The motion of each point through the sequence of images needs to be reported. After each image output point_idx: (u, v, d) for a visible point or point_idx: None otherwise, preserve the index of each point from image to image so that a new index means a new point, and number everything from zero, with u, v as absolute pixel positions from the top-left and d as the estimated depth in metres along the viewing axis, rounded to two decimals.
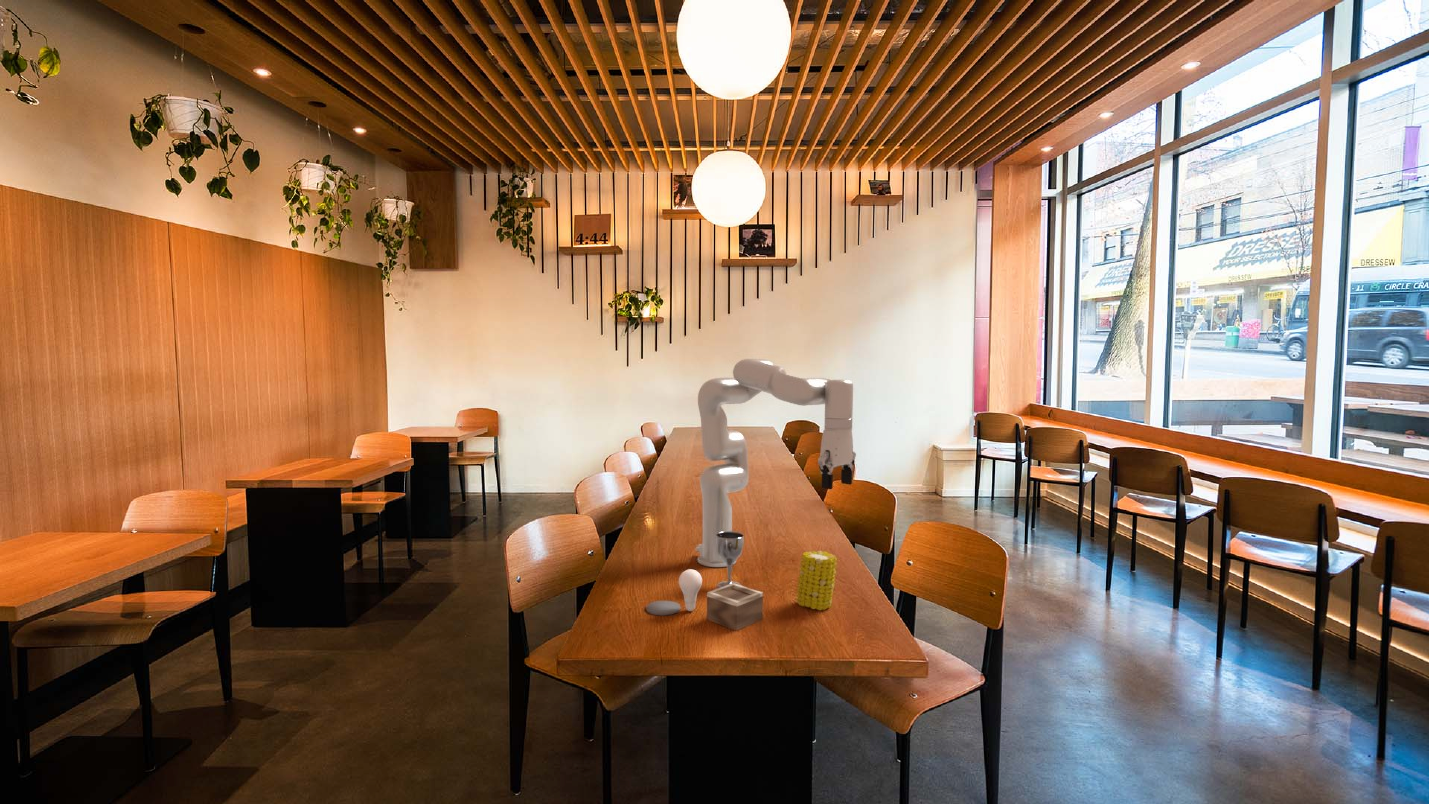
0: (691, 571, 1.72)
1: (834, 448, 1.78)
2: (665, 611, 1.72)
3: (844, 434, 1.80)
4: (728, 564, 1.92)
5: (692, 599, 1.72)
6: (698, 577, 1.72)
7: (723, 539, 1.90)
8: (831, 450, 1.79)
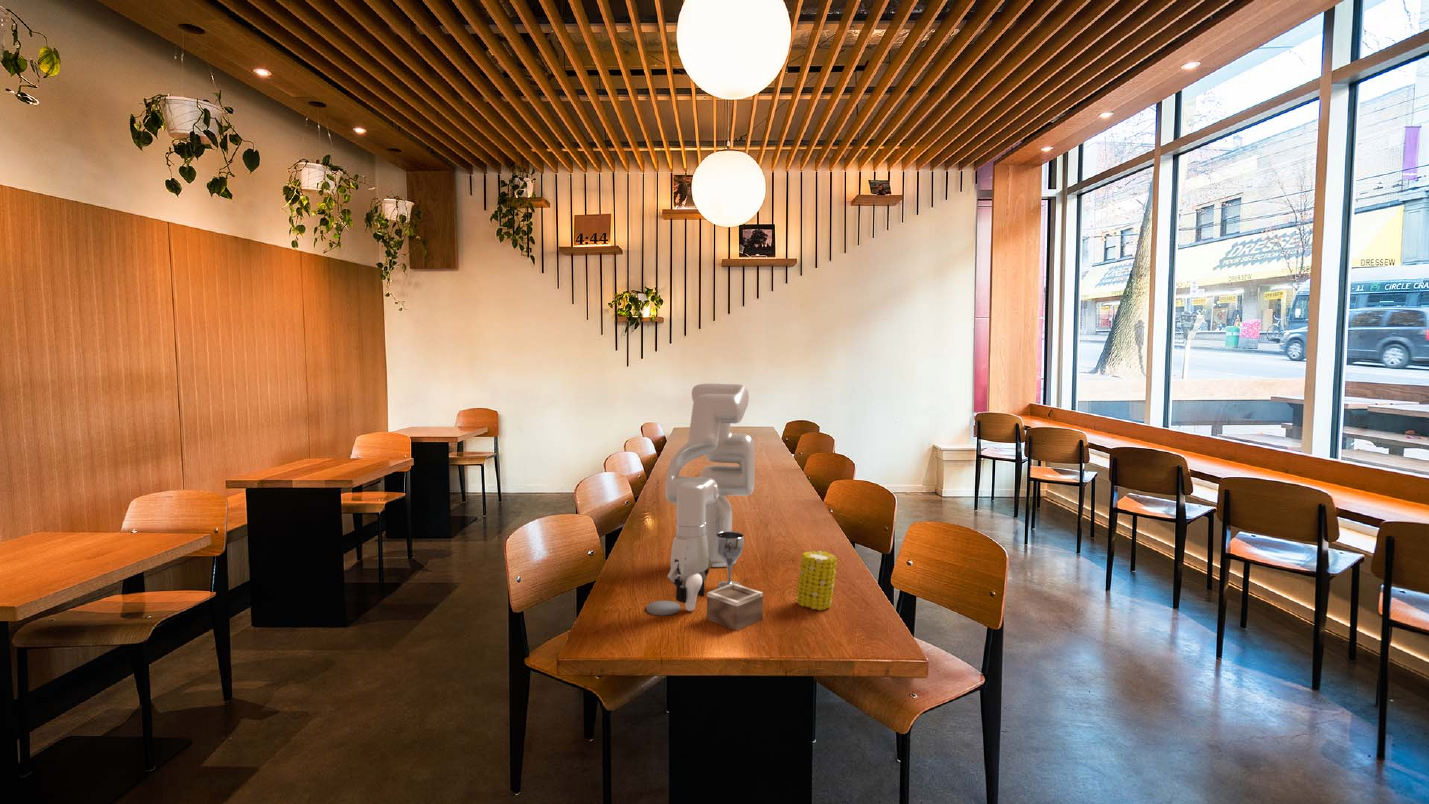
0: None
1: (683, 558, 1.68)
2: (665, 611, 1.72)
3: (695, 542, 1.70)
4: (728, 564, 1.92)
5: (692, 599, 1.72)
6: (698, 577, 1.72)
7: (723, 539, 1.90)
8: (680, 560, 1.68)
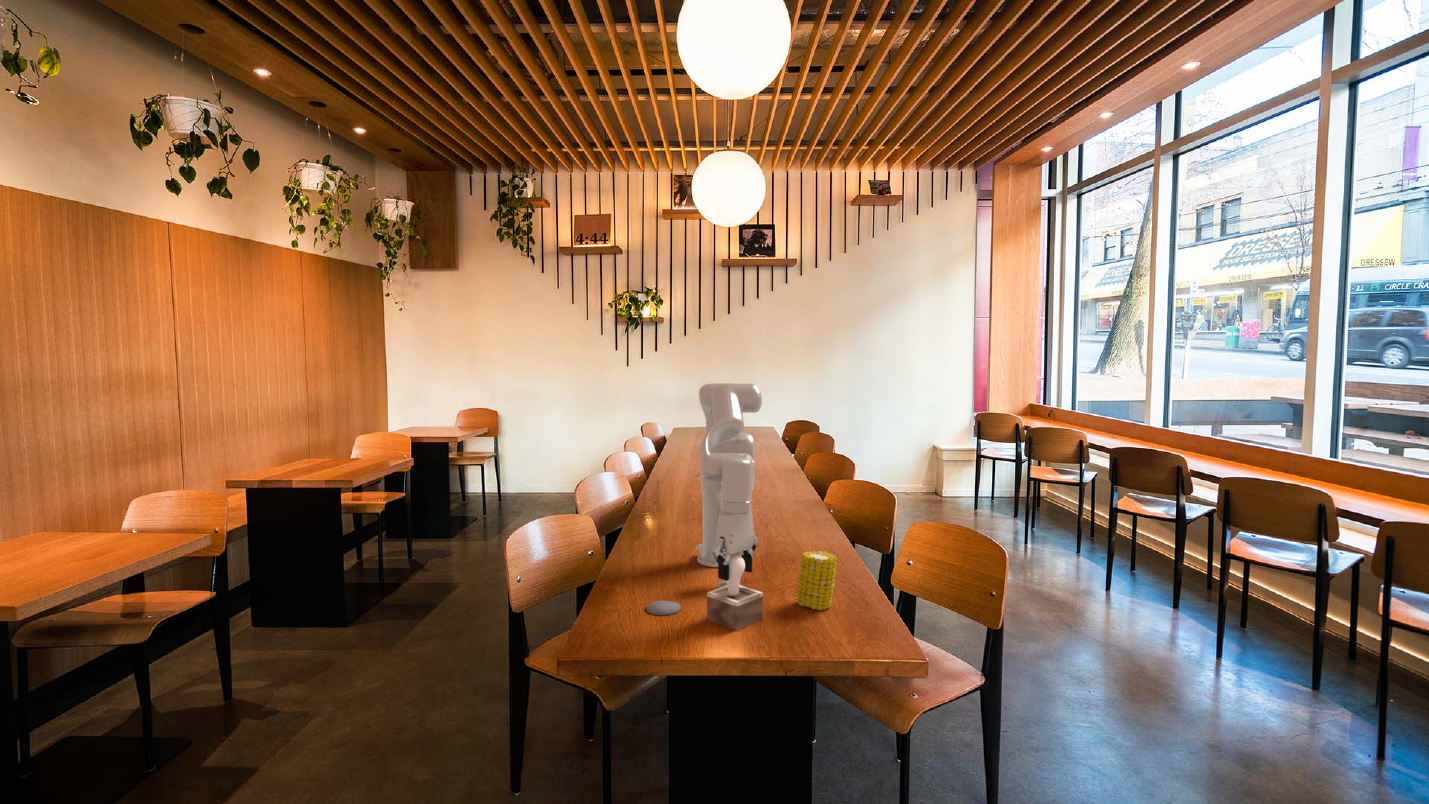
0: (733, 554, 1.67)
1: (729, 535, 1.62)
2: (665, 611, 1.72)
3: (741, 519, 1.65)
4: None
5: (735, 583, 1.66)
6: (741, 560, 1.66)
7: None
8: (726, 537, 1.63)
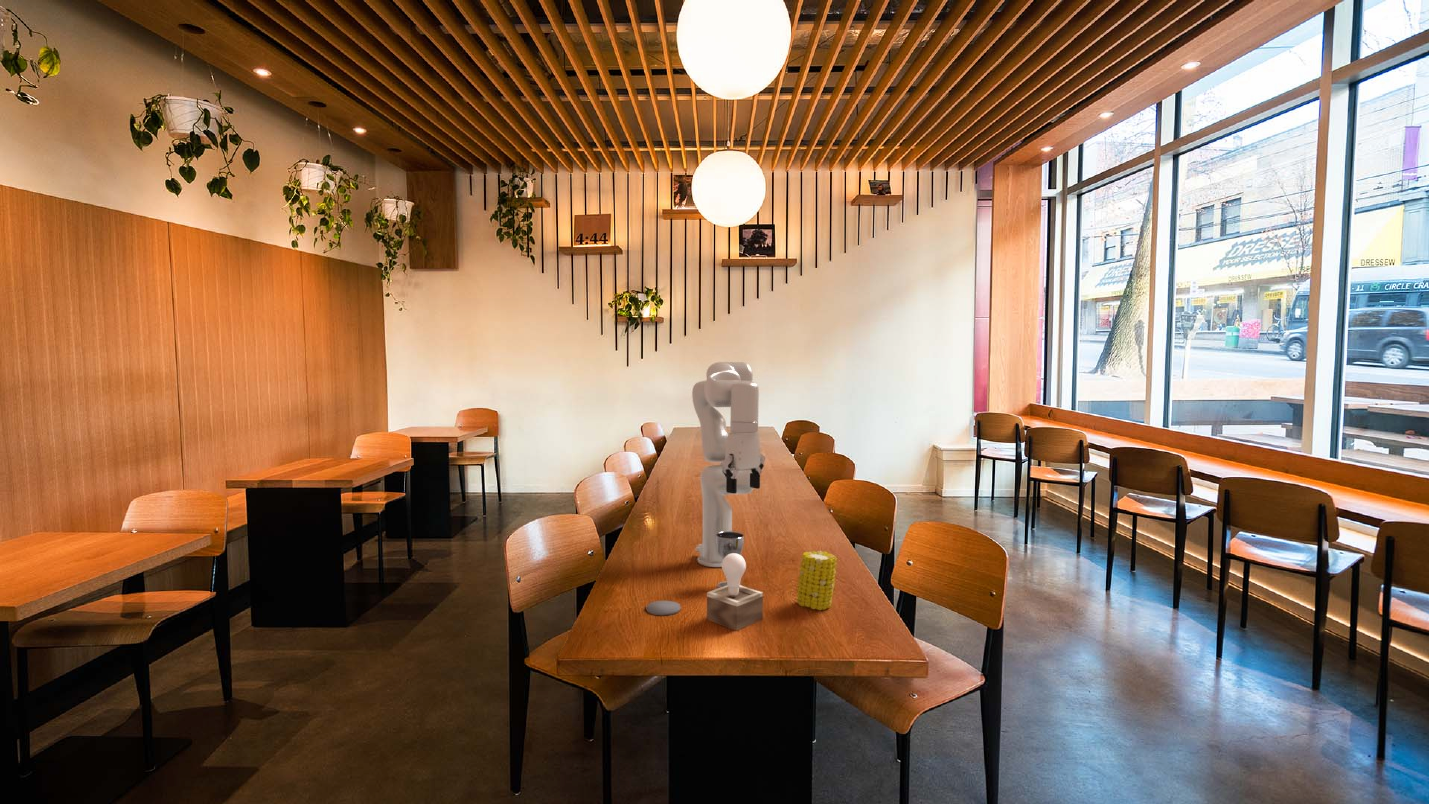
0: (735, 555, 1.67)
1: (737, 452, 1.75)
2: (665, 611, 1.72)
3: (749, 438, 1.78)
4: None
5: (736, 584, 1.66)
6: (742, 561, 1.66)
7: (723, 539, 1.90)
8: (735, 453, 1.76)
